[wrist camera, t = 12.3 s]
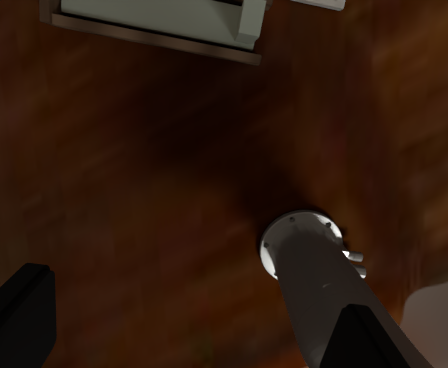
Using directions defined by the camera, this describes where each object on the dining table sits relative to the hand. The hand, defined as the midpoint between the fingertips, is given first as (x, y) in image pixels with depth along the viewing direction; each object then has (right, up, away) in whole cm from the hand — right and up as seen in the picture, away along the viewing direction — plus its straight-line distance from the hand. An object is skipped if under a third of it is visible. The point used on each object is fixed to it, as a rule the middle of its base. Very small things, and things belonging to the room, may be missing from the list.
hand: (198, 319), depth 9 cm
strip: (-6, +24, +23) cm, 34 cm away
